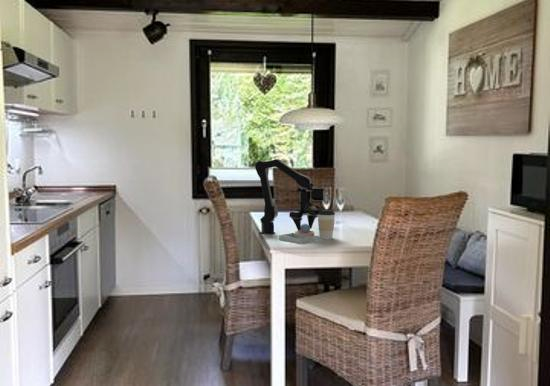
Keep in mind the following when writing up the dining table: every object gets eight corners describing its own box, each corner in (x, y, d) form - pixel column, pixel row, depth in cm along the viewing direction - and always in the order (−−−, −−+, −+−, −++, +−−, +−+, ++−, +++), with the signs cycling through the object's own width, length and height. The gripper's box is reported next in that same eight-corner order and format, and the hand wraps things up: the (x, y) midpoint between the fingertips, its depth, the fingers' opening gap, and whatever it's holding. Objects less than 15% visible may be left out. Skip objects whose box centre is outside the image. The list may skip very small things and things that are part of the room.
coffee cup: (333, 236, 281) (333, 208, 280) (335, 239, 272) (336, 210, 271) (316, 236, 281) (316, 208, 279) (318, 239, 272) (318, 210, 270)
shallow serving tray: (278, 239, 271) (278, 235, 270) (292, 236, 278) (292, 232, 278) (300, 243, 260) (301, 239, 260) (314, 240, 268) (314, 236, 267)
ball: (305, 235, 279) (305, 224, 278) (297, 234, 282) (297, 223, 282) (312, 234, 282) (312, 223, 282) (304, 232, 286) (304, 222, 286)
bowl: (291, 235, 282) (291, 231, 282) (303, 233, 290) (303, 229, 289) (305, 237, 276) (305, 234, 275) (318, 235, 283) (318, 231, 282)
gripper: (305, 203, 268) (304, 233, 270) (328, 200, 282) (327, 229, 283) (288, 201, 276) (288, 230, 278) (312, 198, 289) (311, 227, 291)
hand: (304, 229), depth 282 cm, fingers open, 9 cm apart
